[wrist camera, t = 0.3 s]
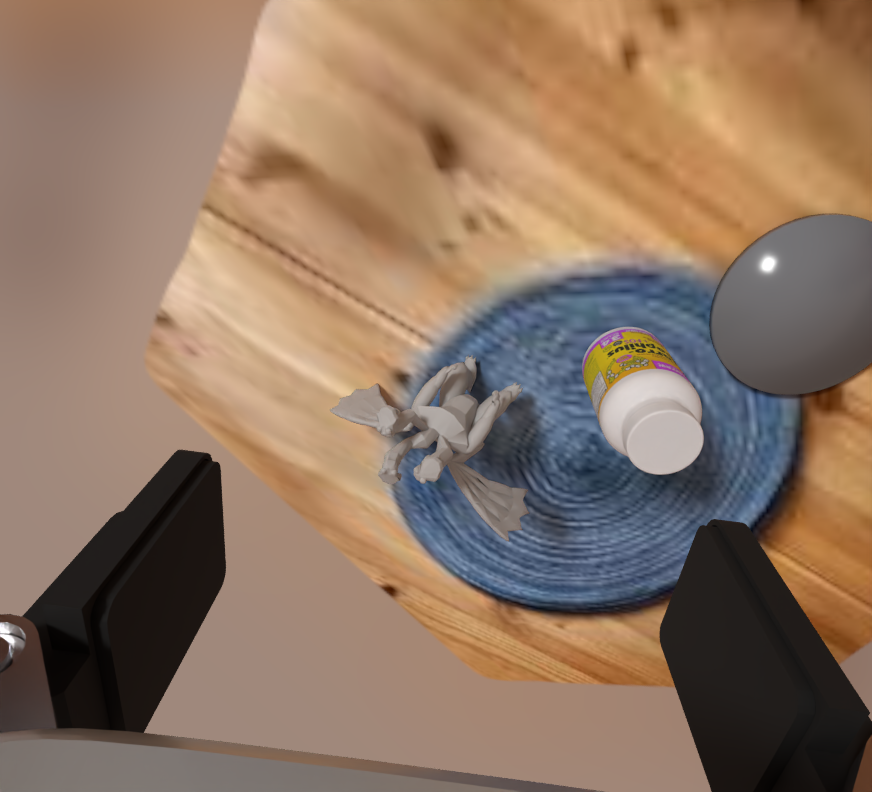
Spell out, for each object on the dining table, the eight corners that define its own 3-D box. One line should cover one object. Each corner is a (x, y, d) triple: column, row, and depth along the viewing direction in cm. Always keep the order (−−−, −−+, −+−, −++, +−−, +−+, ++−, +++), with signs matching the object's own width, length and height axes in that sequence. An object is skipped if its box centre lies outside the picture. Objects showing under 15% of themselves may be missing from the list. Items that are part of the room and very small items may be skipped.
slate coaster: (695, 252, 44) (698, 254, 43) (902, 184, 41) (910, 185, 40) (724, 410, 50) (727, 415, 49) (908, 360, 47) (915, 364, 46)
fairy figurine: (546, 492, 51) (472, 607, 41) (381, 380, 55) (277, 460, 45) (599, 414, 45) (528, 528, 35) (409, 294, 49) (295, 365, 39)
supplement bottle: (673, 328, 47) (737, 402, 35) (652, 402, 50) (704, 493, 38) (588, 319, 47) (624, 390, 35) (572, 394, 50) (601, 482, 38)
